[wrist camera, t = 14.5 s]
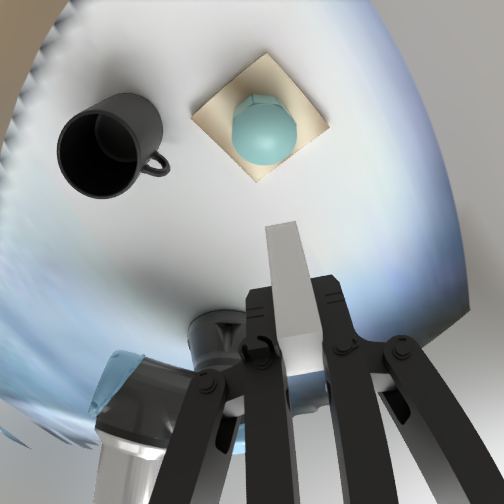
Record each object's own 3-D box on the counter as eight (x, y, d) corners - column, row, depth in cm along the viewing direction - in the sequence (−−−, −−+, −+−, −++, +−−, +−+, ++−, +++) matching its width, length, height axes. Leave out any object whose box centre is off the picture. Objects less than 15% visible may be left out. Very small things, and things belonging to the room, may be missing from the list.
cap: (285, 147, 33) (293, 167, 29) (232, 144, 33) (230, 163, 28) (291, 97, 29) (300, 108, 25) (235, 93, 29) (233, 103, 24)
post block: (255, 178, 37) (257, 199, 33) (192, 115, 32) (183, 128, 27) (327, 124, 33) (340, 138, 28) (266, 52, 27) (270, 53, 23)
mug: (160, 186, 37) (141, 225, 30) (83, 145, 33) (47, 176, 26) (196, 124, 32) (182, 150, 25) (110, 80, 28) (72, 94, 21)
